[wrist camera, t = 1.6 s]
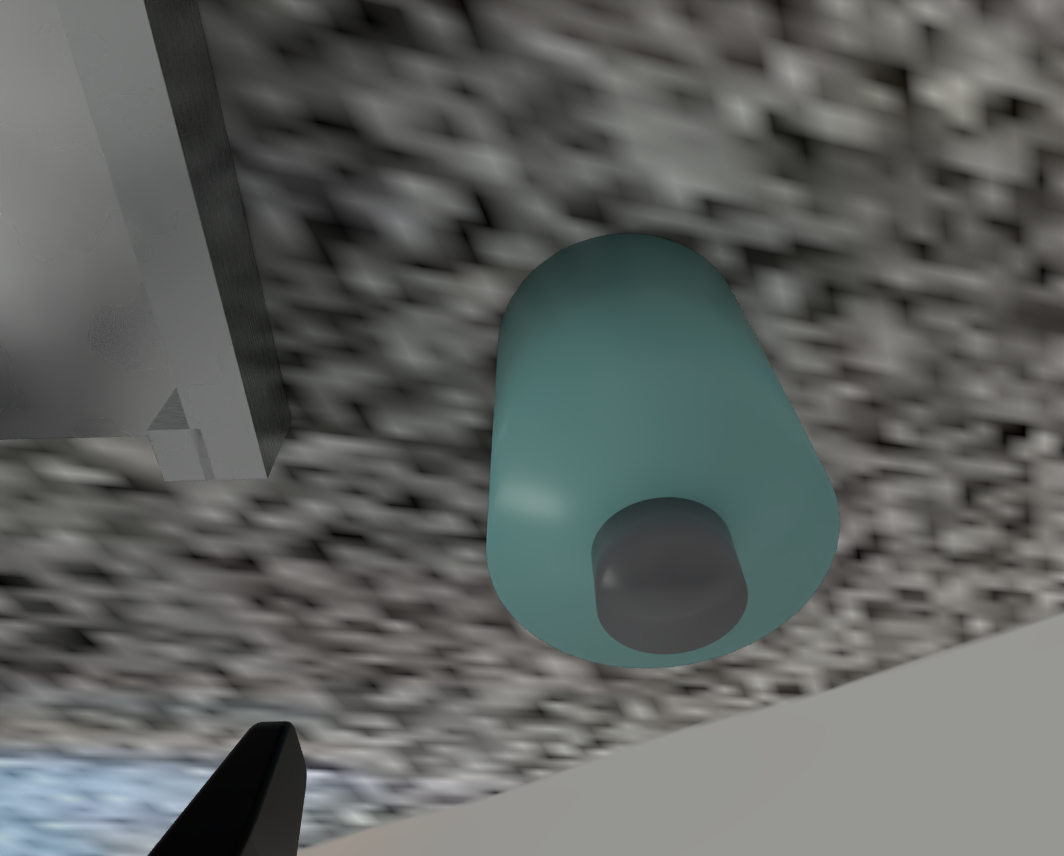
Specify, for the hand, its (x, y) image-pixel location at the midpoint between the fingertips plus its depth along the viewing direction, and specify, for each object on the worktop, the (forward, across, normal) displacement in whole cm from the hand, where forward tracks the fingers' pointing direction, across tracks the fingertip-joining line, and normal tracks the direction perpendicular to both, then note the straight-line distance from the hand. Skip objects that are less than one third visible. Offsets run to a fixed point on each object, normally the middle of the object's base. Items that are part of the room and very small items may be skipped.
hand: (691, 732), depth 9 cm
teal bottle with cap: (+9, 0, 0) cm, 9 cm away
